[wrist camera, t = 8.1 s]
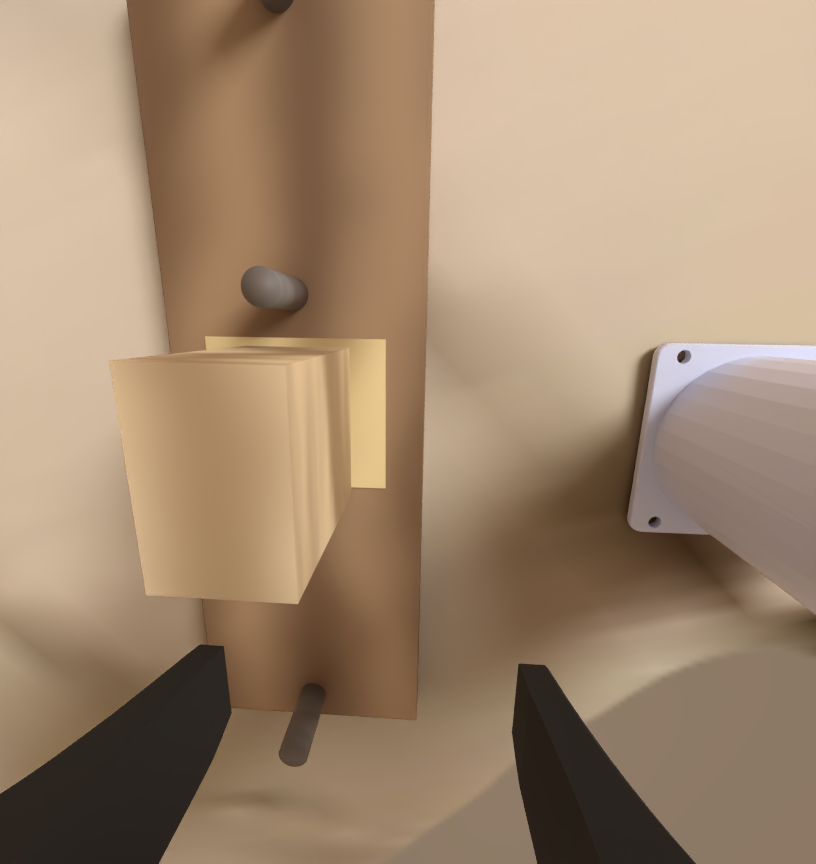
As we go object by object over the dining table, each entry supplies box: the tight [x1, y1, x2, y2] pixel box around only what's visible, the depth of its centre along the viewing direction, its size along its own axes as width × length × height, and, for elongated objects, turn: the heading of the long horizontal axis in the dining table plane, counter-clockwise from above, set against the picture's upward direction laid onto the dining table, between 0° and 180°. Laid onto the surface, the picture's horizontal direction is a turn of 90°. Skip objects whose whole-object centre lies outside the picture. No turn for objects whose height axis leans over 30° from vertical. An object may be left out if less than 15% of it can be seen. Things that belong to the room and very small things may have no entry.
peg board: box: [127, 0, 435, 767], centre depth 16 cm, size 10×30×4 cm, turn 179°
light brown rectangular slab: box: [109, 346, 351, 604], centre depth 13 cm, size 4×6×7 cm
